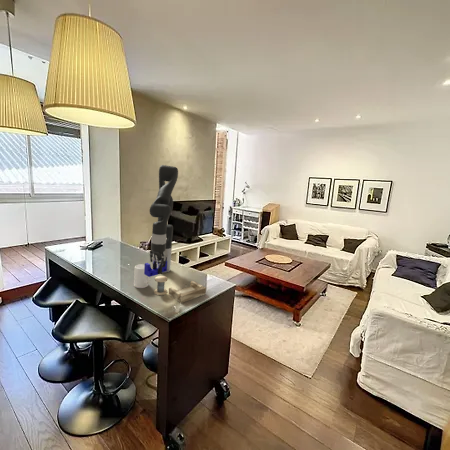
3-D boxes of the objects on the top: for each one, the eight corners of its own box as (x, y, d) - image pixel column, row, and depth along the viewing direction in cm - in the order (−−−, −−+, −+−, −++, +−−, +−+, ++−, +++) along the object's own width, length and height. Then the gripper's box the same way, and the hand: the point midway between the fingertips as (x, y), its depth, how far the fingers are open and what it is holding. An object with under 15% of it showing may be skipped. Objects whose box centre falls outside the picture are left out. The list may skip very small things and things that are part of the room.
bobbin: (151, 291, 145) (152, 277, 143) (162, 288, 150) (163, 275, 149) (158, 296, 140) (159, 281, 139) (169, 292, 146) (169, 279, 144)
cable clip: (149, 276, 129) (149, 265, 128) (144, 274, 132) (144, 263, 131) (168, 271, 138) (168, 261, 137) (163, 269, 141) (164, 259, 140)
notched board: (168, 294, 143) (168, 288, 143) (192, 286, 157) (193, 280, 156) (181, 303, 136) (181, 296, 135) (205, 294, 149) (206, 287, 148)
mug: (154, 287, 151) (155, 268, 148) (141, 291, 144) (142, 271, 142) (143, 280, 158) (143, 262, 155) (130, 284, 151) (131, 265, 149)
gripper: (145, 239, 134) (144, 269, 137) (159, 246, 124) (157, 278, 127) (157, 237, 139) (156, 266, 142) (172, 244, 130) (170, 275, 133)
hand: (157, 272), depth 135 cm, fingers closed on cable clip, 4 cm apart
